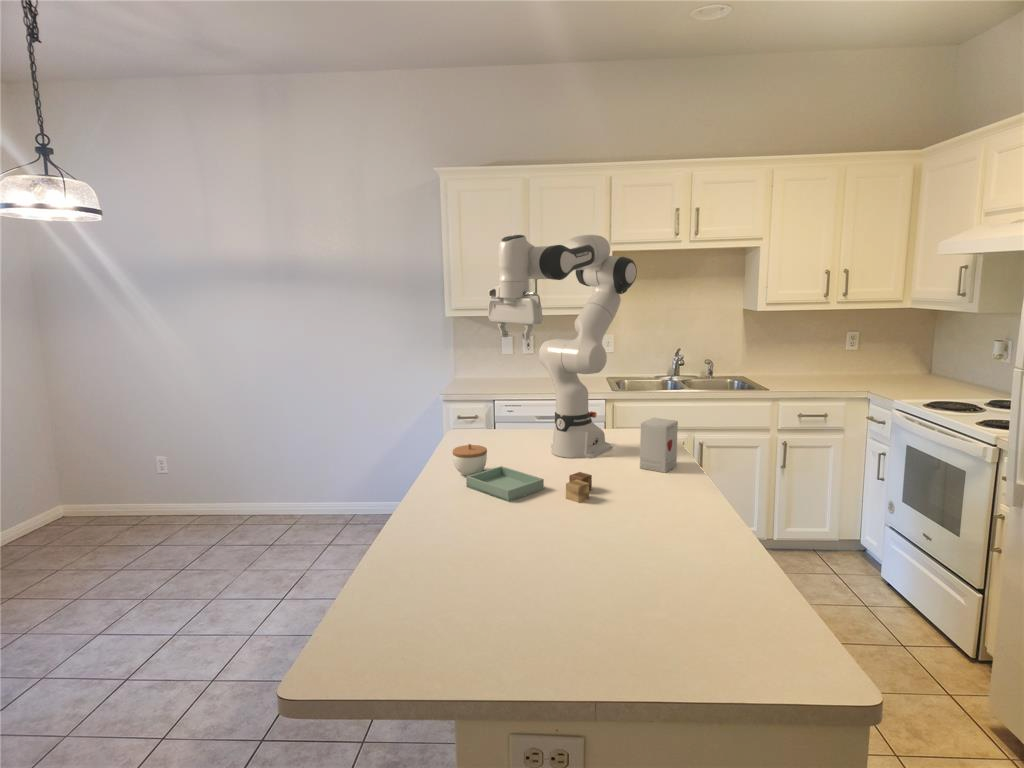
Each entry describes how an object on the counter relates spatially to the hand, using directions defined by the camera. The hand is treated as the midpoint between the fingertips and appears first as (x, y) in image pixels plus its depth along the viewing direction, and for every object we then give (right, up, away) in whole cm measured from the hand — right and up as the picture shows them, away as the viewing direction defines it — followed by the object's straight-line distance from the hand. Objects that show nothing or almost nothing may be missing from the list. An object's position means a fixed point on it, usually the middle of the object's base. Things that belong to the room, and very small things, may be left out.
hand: (515, 338), depth 193 cm
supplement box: (+45, -40, +13) cm, 62 cm away
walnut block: (+19, -44, -7) cm, 48 cm away
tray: (-3, -44, -4) cm, 44 cm away
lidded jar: (-14, -42, +10) cm, 45 cm away
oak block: (+17, -45, -14) cm, 50 cm away
